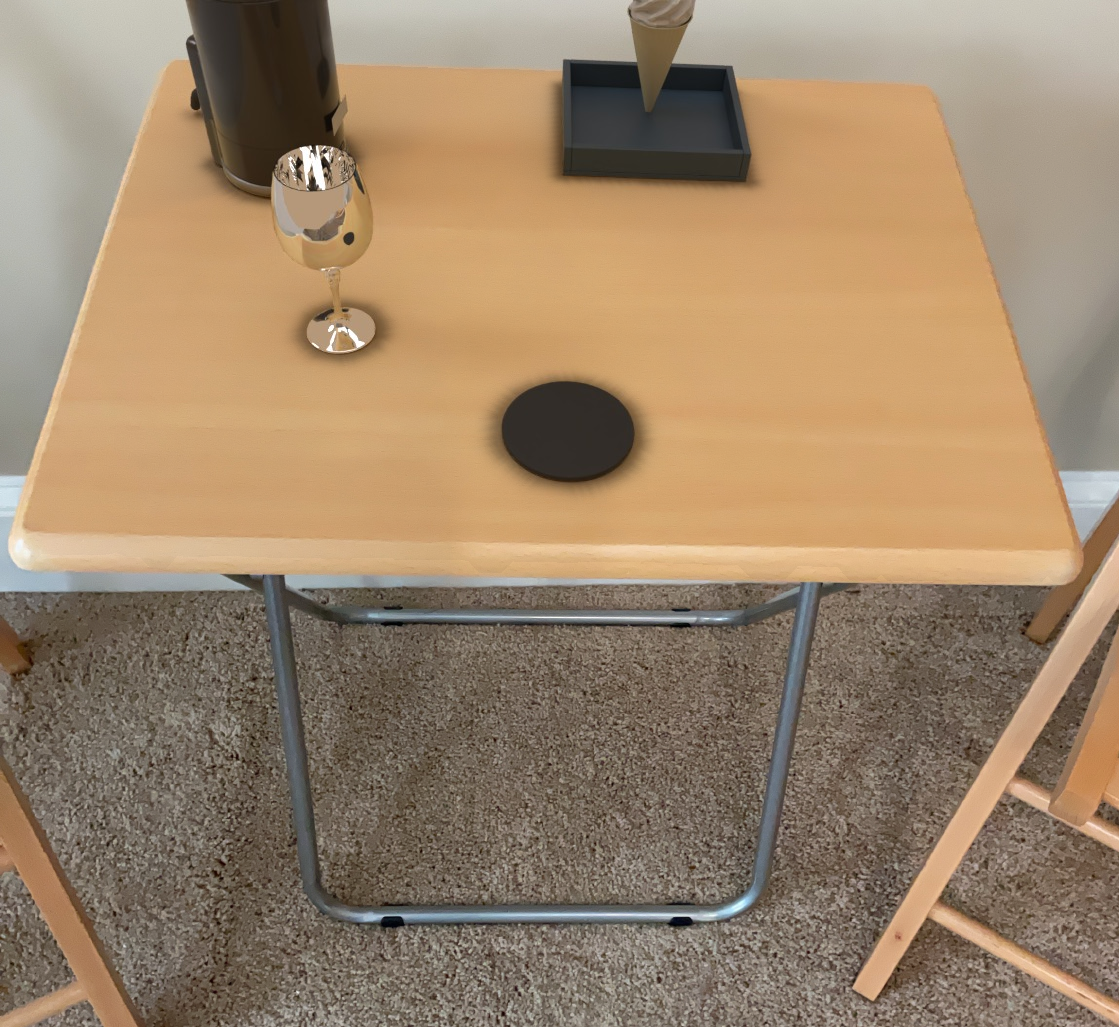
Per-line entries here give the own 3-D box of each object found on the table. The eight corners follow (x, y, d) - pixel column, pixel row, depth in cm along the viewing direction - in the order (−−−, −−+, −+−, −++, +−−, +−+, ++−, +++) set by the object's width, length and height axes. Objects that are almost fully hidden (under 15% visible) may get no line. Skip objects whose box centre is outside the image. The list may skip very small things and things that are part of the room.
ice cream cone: (674, 131, 84) (703, -66, 72) (613, 122, 84) (631, -75, 72) (682, 100, 87) (711, -95, 75) (623, 91, 87) (642, -104, 75)
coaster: (476, 447, 62) (476, 442, 61) (544, 368, 66) (544, 364, 66) (594, 501, 59) (594, 497, 59) (656, 416, 64) (656, 412, 64)
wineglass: (313, 371, 65) (281, 208, 56) (284, 316, 68) (249, 152, 59) (399, 345, 67) (382, 182, 58) (367, 292, 70) (345, 130, 61)
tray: (562, 175, 80) (564, 147, 78) (561, 86, 88) (563, 58, 86) (745, 181, 80) (751, 154, 78) (727, 92, 88) (732, 65, 87)
